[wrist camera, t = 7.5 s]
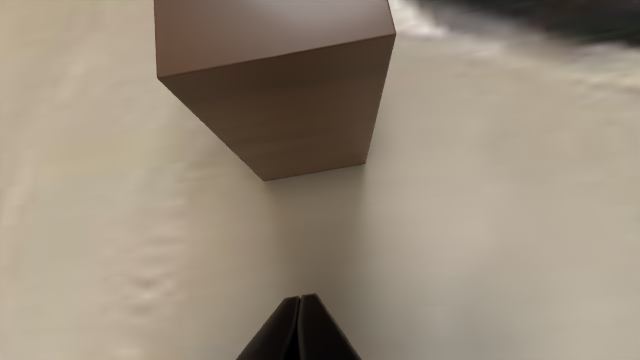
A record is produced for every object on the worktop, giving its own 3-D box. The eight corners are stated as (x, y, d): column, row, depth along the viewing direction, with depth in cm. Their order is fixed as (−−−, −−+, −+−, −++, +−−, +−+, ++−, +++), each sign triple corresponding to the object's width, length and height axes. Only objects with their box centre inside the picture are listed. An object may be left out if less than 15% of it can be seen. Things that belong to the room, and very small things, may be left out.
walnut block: (365, 163, 22) (397, 34, 9) (263, 181, 22) (155, 78, 9) (344, 60, 24) (346, -166, 11) (251, 77, 24) (147, -125, 11)
